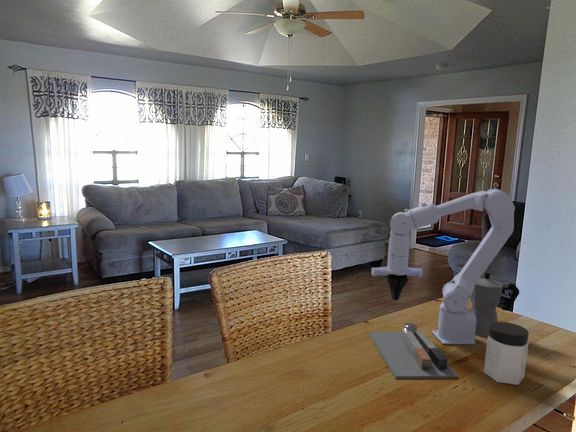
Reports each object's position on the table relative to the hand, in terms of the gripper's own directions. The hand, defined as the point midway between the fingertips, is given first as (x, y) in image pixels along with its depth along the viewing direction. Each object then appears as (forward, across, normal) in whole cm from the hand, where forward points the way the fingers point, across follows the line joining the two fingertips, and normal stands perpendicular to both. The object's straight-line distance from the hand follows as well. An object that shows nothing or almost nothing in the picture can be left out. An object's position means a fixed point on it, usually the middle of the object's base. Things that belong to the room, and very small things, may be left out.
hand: (394, 299), depth 126 cm
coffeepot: (+10, +28, -1) cm, 30 cm away
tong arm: (+9, +2, -14) cm, 17 cm away
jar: (+10, +19, -26) cm, 34 cm away
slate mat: (+9, -1, -15) cm, 18 cm away
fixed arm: (+9, +4, -16) cm, 19 cm away
